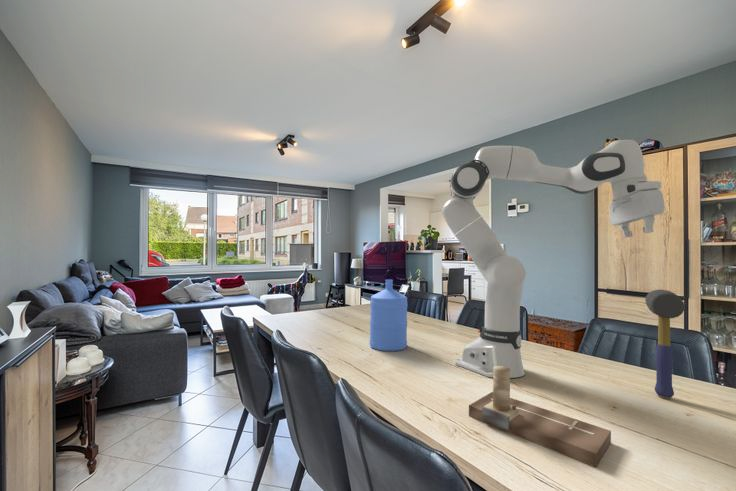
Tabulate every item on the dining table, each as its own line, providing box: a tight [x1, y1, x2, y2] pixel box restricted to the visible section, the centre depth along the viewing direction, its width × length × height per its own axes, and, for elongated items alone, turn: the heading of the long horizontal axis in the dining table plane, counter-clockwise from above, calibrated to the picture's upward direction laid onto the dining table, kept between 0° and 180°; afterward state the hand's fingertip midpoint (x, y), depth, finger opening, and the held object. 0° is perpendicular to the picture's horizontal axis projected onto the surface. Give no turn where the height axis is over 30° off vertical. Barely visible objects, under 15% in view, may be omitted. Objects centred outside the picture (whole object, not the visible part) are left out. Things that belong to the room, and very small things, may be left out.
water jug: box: [369, 278, 408, 352], centre depth 140 cm, size 16×16×28 cm
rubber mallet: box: [645, 289, 686, 400], centre depth 93 cm, size 12×8×30 cm, turn 146°
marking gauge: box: [482, 366, 519, 429], centre depth 77 cm, size 6×6×12 cm
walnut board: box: [468, 391, 612, 468], centre depth 75 cm, size 26×12×3 cm, turn 43°
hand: (638, 235), depth 101 cm, fingers open, 8 cm apart
